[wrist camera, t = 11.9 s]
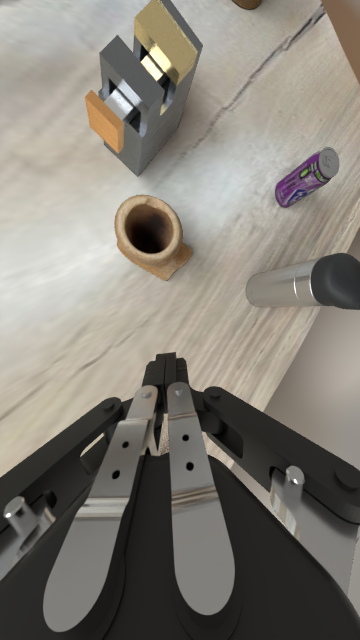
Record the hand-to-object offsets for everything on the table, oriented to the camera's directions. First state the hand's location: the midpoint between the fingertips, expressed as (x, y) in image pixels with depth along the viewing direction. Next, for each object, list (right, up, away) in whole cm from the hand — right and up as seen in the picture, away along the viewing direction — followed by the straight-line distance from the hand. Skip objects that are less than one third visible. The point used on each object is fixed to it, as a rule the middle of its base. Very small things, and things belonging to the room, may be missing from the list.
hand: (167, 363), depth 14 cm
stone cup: (-6, +18, +26) cm, 32 cm away
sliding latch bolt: (-6, +39, +15) cm, 43 cm away
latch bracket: (-7, +43, +24) cm, 49 cm away
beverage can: (+30, +39, +36) cm, 61 cm away
